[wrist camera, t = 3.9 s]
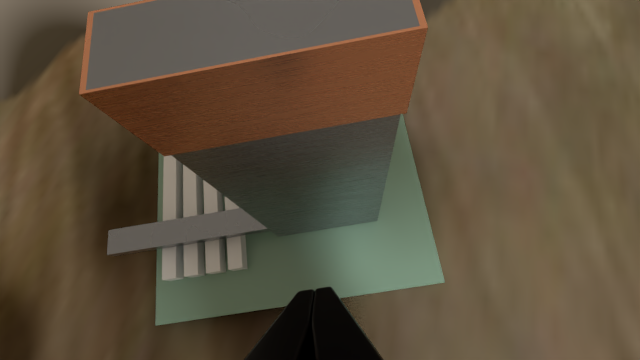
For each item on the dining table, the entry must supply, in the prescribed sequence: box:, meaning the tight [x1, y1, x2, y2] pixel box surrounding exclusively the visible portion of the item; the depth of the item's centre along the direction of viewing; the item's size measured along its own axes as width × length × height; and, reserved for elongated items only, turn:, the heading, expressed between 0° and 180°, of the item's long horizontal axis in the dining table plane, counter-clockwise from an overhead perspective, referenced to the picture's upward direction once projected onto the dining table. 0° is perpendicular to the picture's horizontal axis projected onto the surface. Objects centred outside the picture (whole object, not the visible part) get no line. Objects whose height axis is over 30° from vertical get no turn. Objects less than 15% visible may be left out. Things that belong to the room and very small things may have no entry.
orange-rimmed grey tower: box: [79, 0, 428, 256], centre depth 13 cm, size 8×13×13 cm, turn 98°
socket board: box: [155, 114, 445, 326], centre depth 18 cm, size 18×14×4 cm
